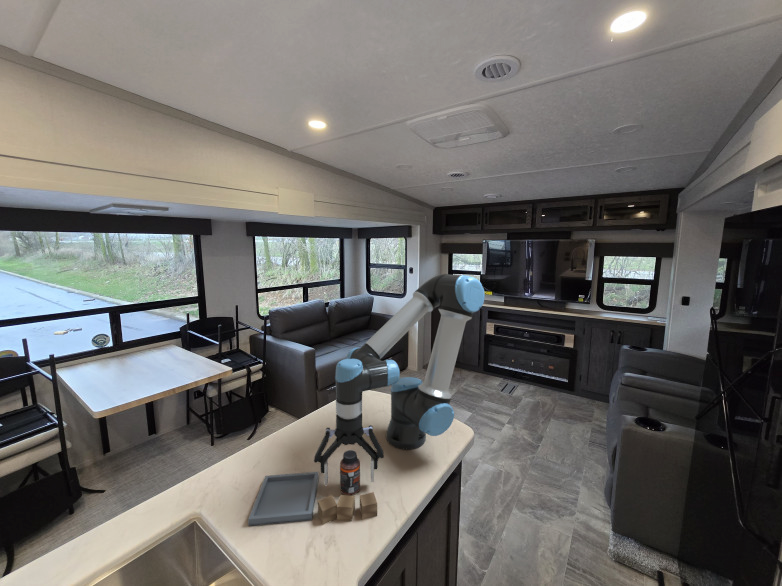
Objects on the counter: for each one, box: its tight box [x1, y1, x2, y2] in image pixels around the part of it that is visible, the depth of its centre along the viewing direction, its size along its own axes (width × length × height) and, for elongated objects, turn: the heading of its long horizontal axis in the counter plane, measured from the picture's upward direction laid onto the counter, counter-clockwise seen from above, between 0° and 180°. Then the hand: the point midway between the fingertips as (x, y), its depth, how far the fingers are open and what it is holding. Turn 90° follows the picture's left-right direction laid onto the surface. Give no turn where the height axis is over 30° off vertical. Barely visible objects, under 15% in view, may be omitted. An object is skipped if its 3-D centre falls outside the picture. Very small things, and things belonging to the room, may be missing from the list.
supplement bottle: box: [339, 449, 361, 496], centre depth 93 cm, size 6×6×11 cm
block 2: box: [336, 494, 356, 522], centre depth 84 cm, size 4×4×4 cm
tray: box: [247, 471, 320, 527], centre depth 89 cm, size 16×16×2 cm
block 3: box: [359, 491, 378, 520], centre depth 85 cm, size 4×4×4 cm
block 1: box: [317, 494, 338, 525], centre depth 83 cm, size 4×4×4 cm
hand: (349, 480), depth 93 cm, fingers open, 13 cm apart
